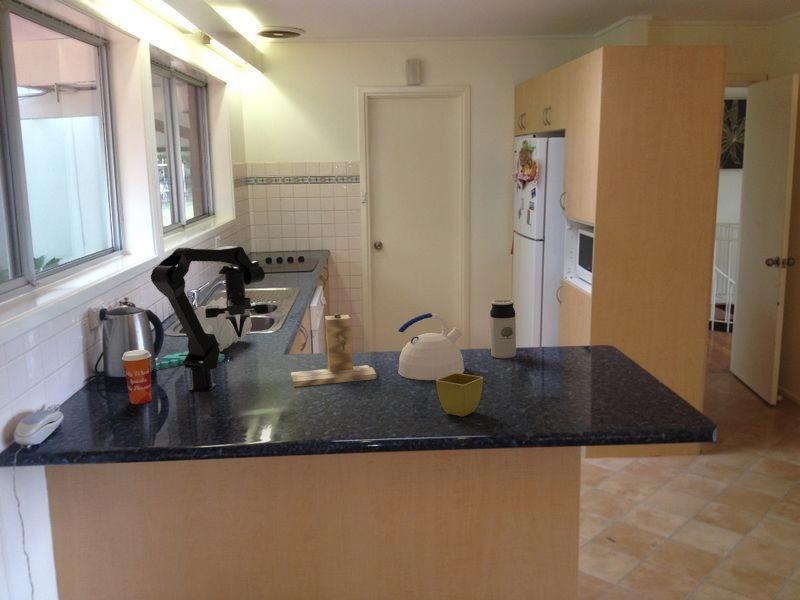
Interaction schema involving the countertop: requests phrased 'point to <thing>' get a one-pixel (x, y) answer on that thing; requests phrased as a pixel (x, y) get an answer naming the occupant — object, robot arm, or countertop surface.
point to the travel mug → (503, 329)
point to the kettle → (431, 353)
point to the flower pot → (459, 393)
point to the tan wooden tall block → (339, 342)
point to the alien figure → (178, 360)
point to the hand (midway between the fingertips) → (239, 337)
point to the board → (332, 376)
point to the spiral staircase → (221, 325)
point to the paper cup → (138, 375)
